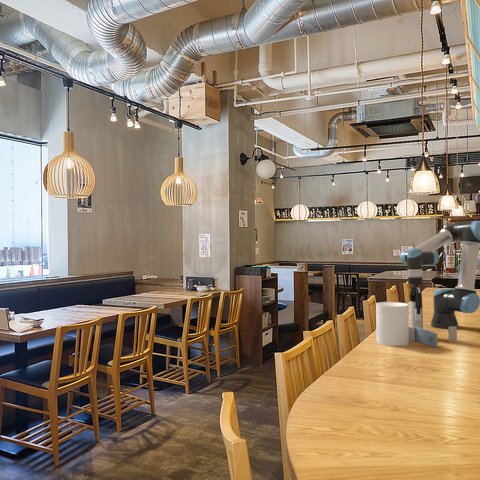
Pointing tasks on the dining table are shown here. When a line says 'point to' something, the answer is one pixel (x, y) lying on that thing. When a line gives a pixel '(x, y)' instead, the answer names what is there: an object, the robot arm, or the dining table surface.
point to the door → (425, 336)
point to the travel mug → (412, 311)
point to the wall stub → (452, 334)
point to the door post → (411, 334)
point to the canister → (392, 323)
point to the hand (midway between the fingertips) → (416, 318)
